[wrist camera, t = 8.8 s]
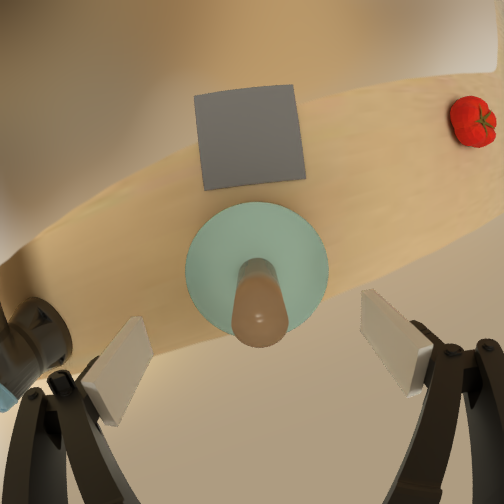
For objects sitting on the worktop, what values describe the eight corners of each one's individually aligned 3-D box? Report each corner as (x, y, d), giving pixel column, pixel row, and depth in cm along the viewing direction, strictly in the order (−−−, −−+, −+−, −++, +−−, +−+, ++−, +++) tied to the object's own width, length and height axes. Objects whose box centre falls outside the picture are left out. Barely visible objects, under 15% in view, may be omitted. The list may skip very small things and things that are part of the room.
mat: (205, 190, 38) (204, 190, 37) (194, 97, 35) (193, 95, 34) (305, 178, 38) (306, 178, 37) (292, 85, 34) (292, 84, 34)
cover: (200, 337, 28) (179, 404, 18) (178, 210, 25) (134, 227, 15) (325, 325, 27) (356, 387, 18) (321, 195, 24) (364, 203, 15)
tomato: (453, 92, 33) (478, 83, 26) (481, 128, 35) (506, 124, 27) (436, 123, 35) (462, 116, 28) (465, 160, 36) (492, 159, 29)
